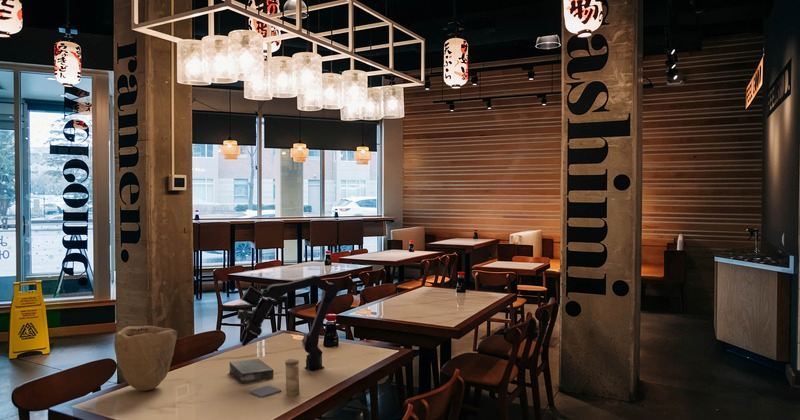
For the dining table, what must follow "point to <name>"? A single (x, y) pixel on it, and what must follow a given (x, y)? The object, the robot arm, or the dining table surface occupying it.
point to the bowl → (145, 354)
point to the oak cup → (292, 377)
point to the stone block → (250, 371)
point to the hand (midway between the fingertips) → (242, 343)
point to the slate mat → (264, 391)
